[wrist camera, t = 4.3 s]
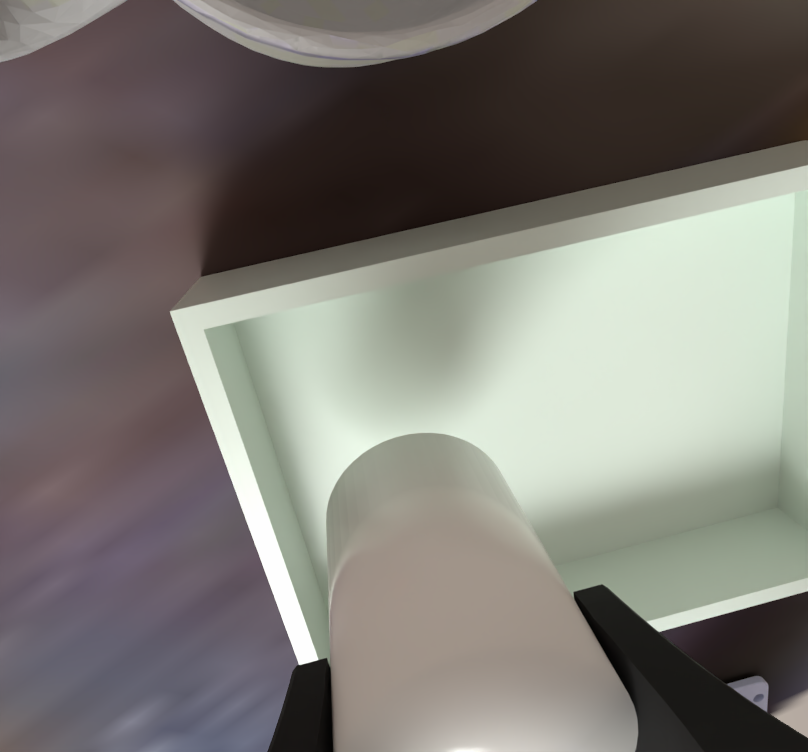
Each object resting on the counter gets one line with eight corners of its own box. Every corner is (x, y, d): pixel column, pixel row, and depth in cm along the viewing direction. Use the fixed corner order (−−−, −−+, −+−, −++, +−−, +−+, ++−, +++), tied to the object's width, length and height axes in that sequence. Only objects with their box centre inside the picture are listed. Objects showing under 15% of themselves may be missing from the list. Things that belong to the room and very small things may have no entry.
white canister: (513, 571, 17) (634, 828, 11) (342, 605, 17) (360, 896, 10) (503, 417, 15) (642, 615, 9) (310, 452, 15) (306, 686, 8)
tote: (781, 508, 24) (867, 574, 20) (320, 630, 23) (321, 724, 19) (804, 140, 19) (925, 138, 15) (200, 276, 17) (169, 311, 14)
